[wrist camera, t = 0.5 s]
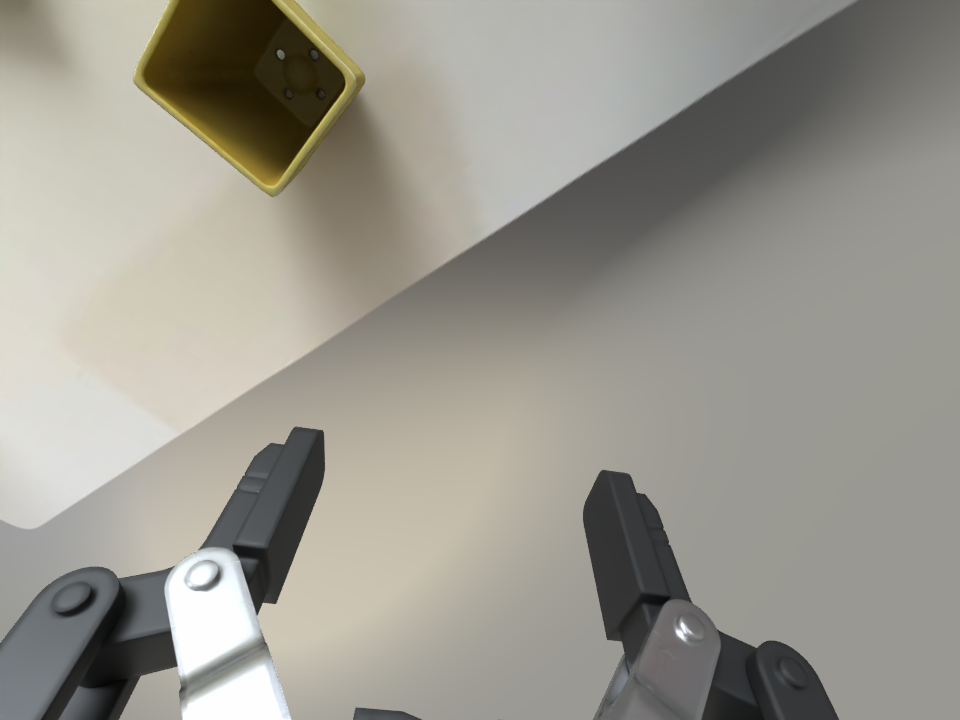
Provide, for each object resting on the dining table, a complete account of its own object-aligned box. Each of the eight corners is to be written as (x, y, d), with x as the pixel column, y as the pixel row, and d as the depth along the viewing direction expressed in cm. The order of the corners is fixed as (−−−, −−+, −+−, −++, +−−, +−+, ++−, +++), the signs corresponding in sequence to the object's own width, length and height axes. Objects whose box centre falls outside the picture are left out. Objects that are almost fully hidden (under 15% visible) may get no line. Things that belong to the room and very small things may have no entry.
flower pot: (319, 171, 34) (272, 201, 27) (213, 76, 31) (126, 80, 24) (391, 77, 31) (360, 81, 23) (280, -42, 28) (203, -82, 20)
